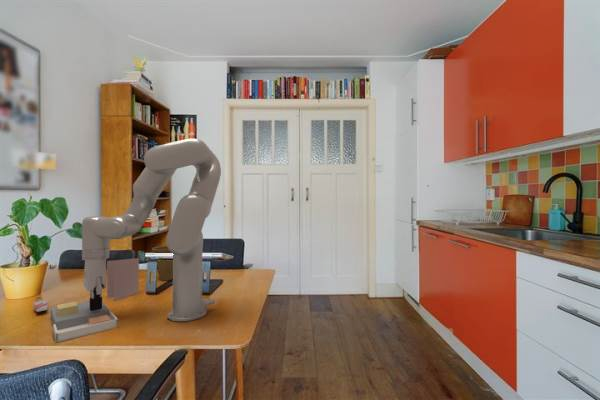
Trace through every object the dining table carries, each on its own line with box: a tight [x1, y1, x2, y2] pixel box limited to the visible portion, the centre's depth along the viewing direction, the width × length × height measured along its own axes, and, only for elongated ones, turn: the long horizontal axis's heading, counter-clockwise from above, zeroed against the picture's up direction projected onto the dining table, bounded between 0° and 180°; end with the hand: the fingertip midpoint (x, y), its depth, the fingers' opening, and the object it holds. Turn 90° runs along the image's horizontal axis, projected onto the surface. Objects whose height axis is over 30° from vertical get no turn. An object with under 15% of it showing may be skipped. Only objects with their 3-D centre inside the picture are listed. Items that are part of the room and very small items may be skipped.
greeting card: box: [106, 257, 140, 302], centre depth 122 cm, size 11×7×15 cm, turn 125°
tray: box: [52, 311, 119, 344], centre depth 91 cm, size 15×9×2 cm, turn 134°
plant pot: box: [152, 245, 173, 282], centre depth 151 cm, size 15×15×16 cm
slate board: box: [50, 300, 111, 330], centre depth 100 cm, size 14×16×3 cm
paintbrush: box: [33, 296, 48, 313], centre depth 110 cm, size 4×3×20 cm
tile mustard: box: [56, 301, 78, 317], centre depth 97 cm, size 5×5×2 cm
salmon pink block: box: [88, 315, 111, 326], centre depth 92 cm, size 5×5×2 cm
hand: (95, 309), depth 98 cm, fingers closed
